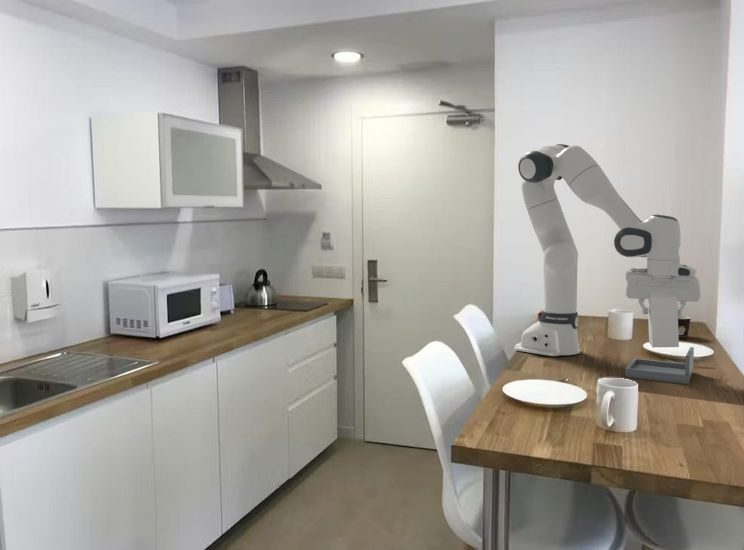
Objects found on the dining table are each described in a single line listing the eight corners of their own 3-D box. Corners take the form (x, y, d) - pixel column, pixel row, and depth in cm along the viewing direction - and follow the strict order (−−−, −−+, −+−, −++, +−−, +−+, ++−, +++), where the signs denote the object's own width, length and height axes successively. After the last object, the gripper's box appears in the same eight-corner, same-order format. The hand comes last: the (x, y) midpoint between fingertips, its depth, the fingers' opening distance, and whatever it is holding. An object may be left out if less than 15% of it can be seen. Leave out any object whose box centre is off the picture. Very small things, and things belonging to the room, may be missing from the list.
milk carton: (679, 347, 179) (676, 283, 178) (652, 348, 181) (650, 284, 180) (674, 343, 186) (672, 281, 185) (649, 343, 188) (646, 282, 187)
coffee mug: (690, 342, 233) (691, 316, 232) (688, 346, 225) (689, 319, 224) (657, 339, 239) (658, 314, 238) (654, 343, 232) (655, 317, 231)
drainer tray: (624, 376, 182) (625, 350, 182) (633, 365, 196) (634, 341, 195) (688, 384, 173) (689, 356, 173) (693, 372, 187) (694, 346, 186)
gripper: (624, 268, 185) (623, 313, 186) (700, 270, 174) (698, 318, 175) (627, 267, 190) (626, 311, 191) (701, 269, 179) (700, 315, 180)
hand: (661, 314), depth 183 cm, fingers closed on milk carton, 8 cm apart
